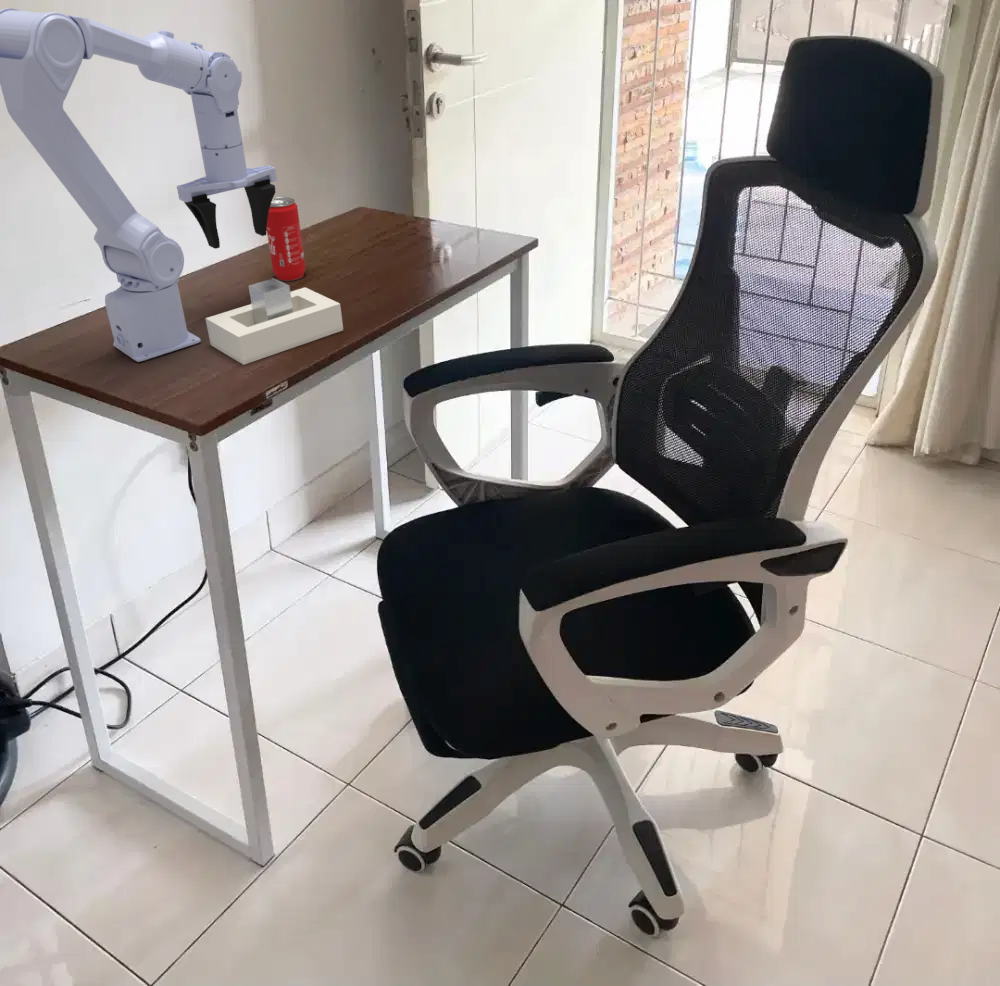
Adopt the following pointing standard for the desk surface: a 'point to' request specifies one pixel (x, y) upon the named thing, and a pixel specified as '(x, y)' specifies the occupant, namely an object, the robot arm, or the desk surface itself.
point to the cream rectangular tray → (274, 327)
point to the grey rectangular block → (270, 300)
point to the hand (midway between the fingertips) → (238, 240)
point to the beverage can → (285, 239)
